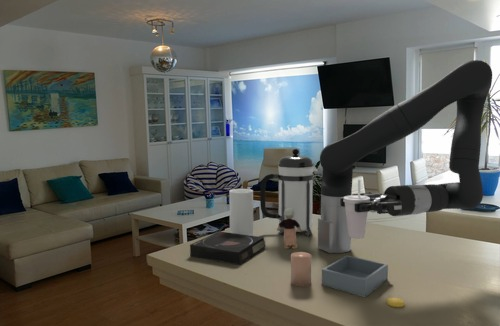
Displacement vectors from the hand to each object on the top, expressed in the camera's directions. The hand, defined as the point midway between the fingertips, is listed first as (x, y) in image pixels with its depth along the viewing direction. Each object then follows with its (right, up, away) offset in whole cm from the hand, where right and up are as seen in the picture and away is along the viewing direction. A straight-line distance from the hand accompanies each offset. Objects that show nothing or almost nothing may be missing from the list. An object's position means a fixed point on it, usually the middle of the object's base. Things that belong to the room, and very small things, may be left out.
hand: (348, 204), depth 100 cm
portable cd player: (-30, -18, +27) cm, 44 cm away
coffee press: (-9, -15, +49) cm, 52 cm away
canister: (-11, -20, +3) cm, 23 cm away
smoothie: (+2, -8, +2) cm, 9 cm away
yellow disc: (+8, -21, -9) cm, 24 cm away
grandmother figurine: (-11, -17, +32) cm, 37 cm away
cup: (-27, -16, +45) cm, 55 cm away
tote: (+2, -19, +3) cm, 20 cm away
